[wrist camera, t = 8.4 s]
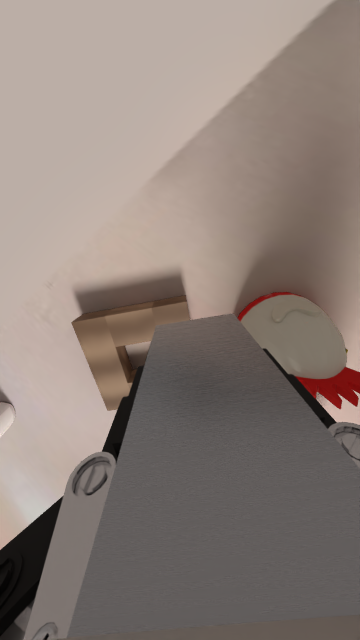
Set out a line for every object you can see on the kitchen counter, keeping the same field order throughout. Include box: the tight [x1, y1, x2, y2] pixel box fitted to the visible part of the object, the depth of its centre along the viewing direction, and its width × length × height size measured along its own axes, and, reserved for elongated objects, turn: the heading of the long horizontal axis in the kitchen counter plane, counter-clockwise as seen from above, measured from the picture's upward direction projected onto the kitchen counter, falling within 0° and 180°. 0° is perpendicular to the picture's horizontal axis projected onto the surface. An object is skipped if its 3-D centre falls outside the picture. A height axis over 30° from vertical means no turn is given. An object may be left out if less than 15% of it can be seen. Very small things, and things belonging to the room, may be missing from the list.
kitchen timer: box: [238, 292, 360, 409], centre depth 25 cm, size 14×14×15 cm
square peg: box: [67, 314, 360, 638], centre depth 7 cm, size 4×4×10 cm
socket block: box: [71, 295, 190, 411], centre depth 31 cm, size 16×16×4 cm
